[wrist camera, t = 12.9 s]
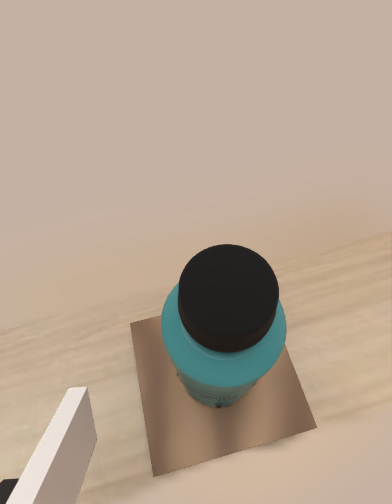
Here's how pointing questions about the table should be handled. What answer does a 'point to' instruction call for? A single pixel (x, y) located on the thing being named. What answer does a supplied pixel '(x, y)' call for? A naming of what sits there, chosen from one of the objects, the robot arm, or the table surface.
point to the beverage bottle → (223, 324)
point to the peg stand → (211, 408)
